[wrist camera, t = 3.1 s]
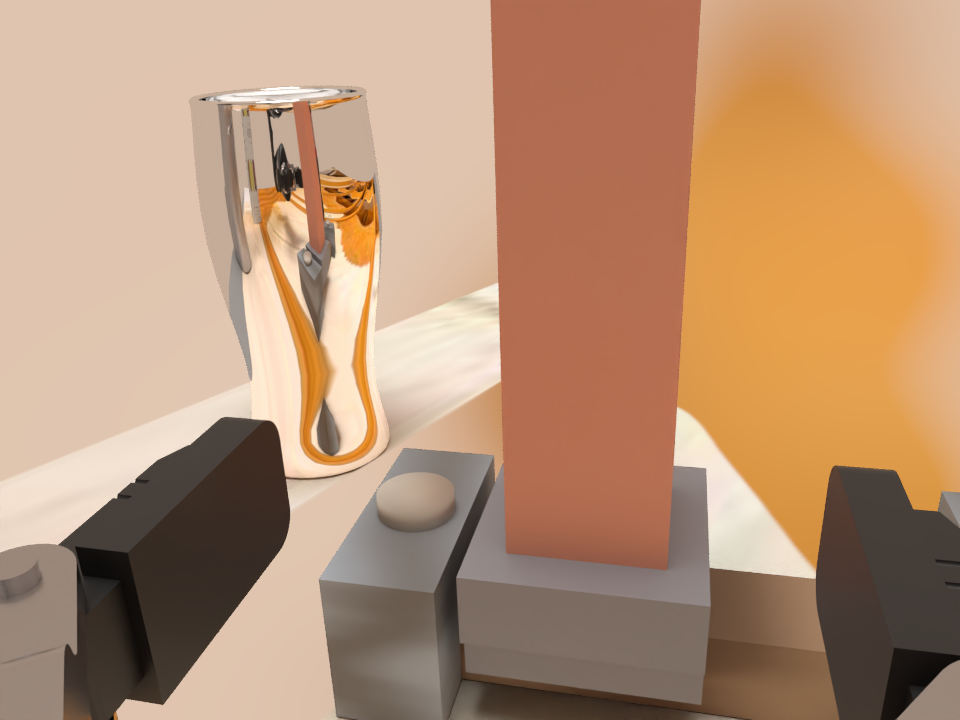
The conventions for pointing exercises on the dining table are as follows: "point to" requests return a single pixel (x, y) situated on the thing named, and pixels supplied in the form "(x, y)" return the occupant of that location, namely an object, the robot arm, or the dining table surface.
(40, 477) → the dining table surface
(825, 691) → the rail
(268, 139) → the beer glass
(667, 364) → the tall salmon pink pillar
